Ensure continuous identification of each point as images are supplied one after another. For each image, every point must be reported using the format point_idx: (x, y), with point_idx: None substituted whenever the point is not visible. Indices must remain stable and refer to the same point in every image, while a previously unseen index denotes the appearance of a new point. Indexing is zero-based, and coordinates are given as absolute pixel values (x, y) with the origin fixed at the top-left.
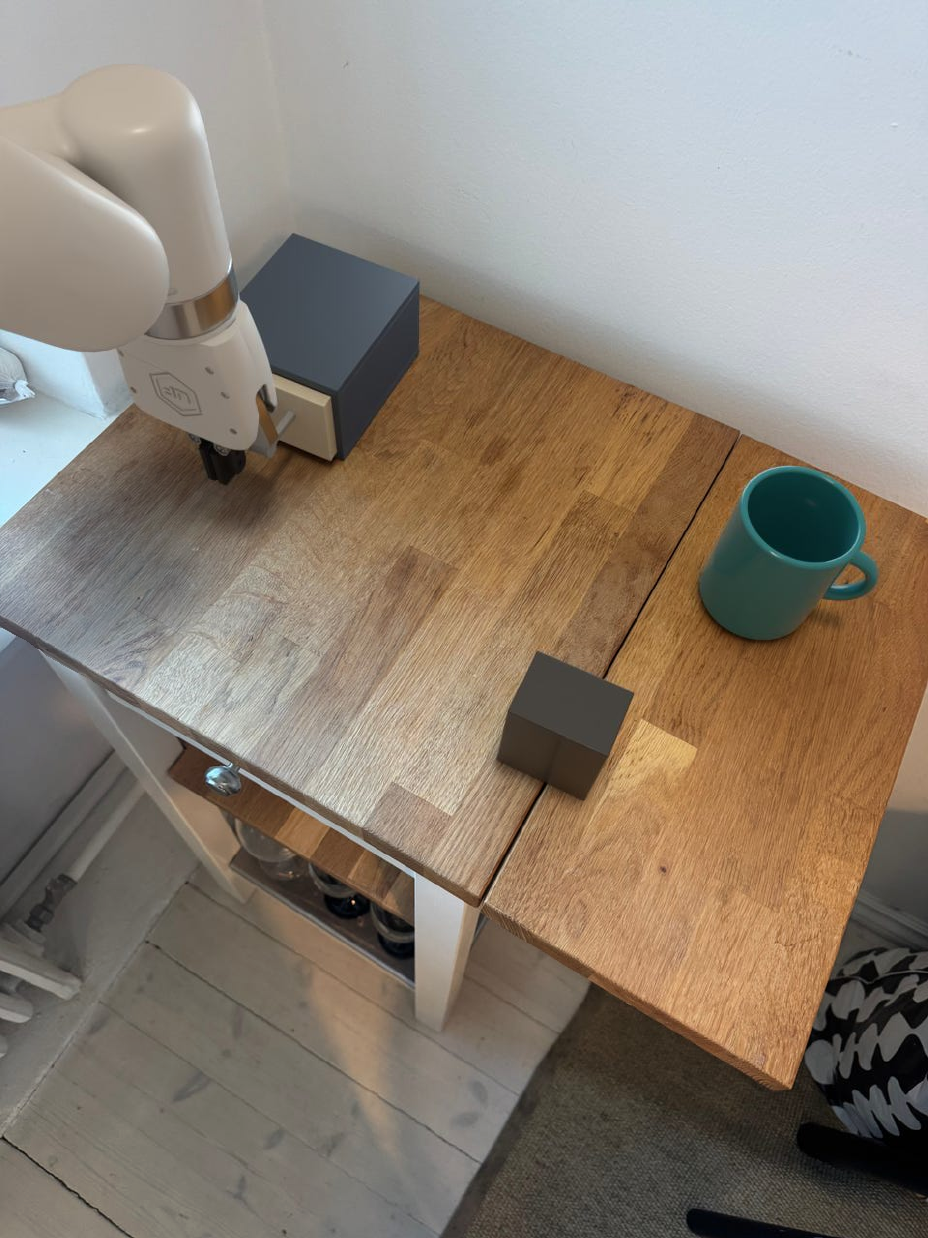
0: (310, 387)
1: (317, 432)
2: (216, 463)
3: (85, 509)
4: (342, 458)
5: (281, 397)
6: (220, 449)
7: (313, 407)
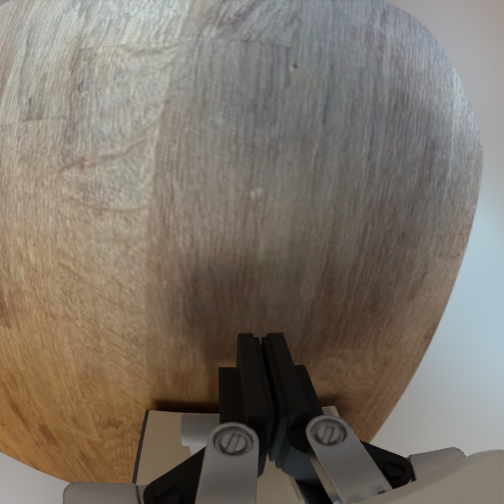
0: None
1: (158, 453)
2: (250, 387)
3: (440, 197)
4: (147, 412)
5: None
6: (239, 437)
7: None
